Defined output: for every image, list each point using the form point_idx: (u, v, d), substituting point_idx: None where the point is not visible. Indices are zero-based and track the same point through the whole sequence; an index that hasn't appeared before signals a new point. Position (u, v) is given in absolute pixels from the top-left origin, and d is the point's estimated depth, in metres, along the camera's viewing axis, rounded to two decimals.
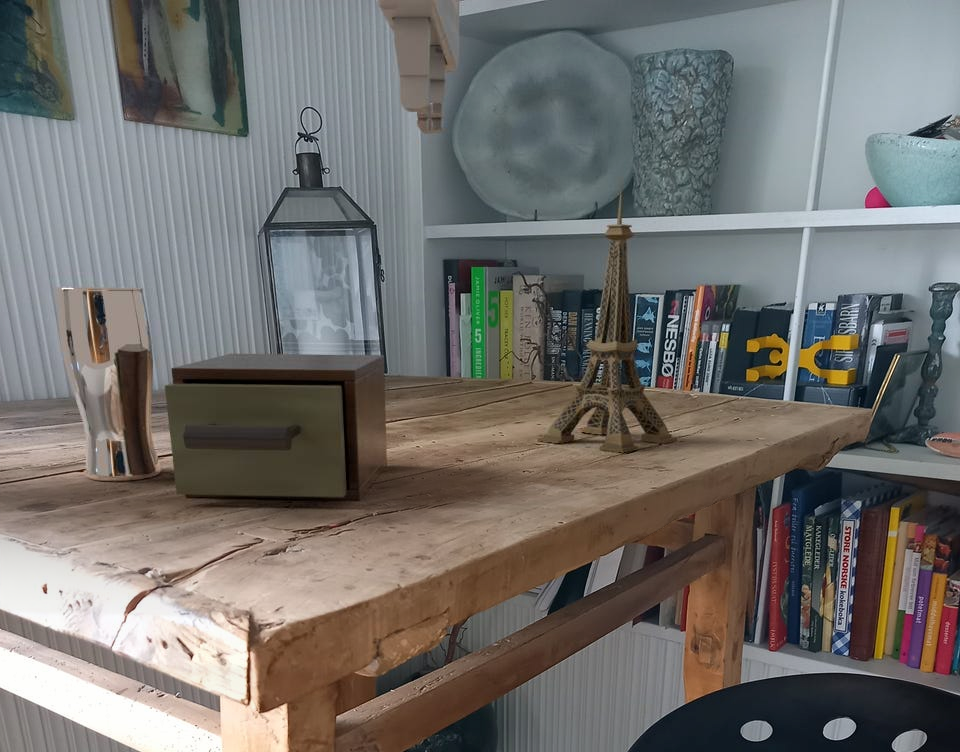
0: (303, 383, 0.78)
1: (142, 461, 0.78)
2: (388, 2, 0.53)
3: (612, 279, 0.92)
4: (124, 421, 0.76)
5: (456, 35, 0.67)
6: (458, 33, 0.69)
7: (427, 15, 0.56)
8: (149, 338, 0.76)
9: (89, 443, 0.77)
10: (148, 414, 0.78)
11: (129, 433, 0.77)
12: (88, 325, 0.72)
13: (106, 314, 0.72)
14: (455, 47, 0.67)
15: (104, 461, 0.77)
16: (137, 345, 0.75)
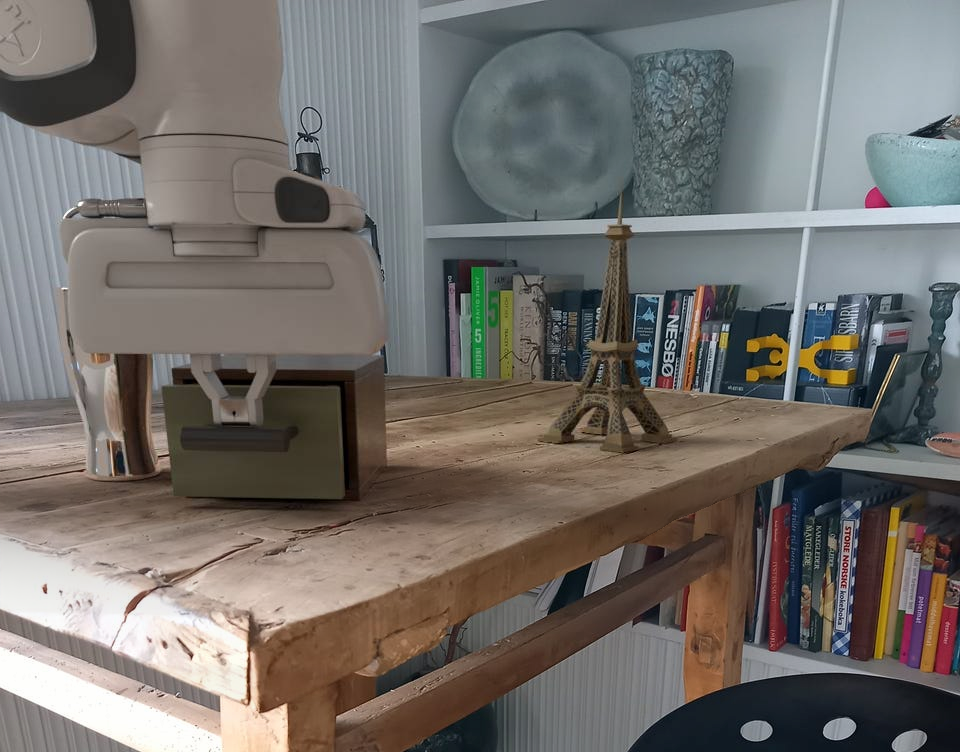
0: (301, 384, 0.77)
1: (142, 461, 0.78)
2: (374, 353, 0.60)
3: (612, 279, 0.92)
4: (124, 421, 0.76)
5: None
6: None
7: None
8: None
9: (89, 443, 0.77)
10: (148, 414, 0.78)
11: (129, 433, 0.77)
12: None
13: None
14: None
15: (104, 461, 0.77)
16: None
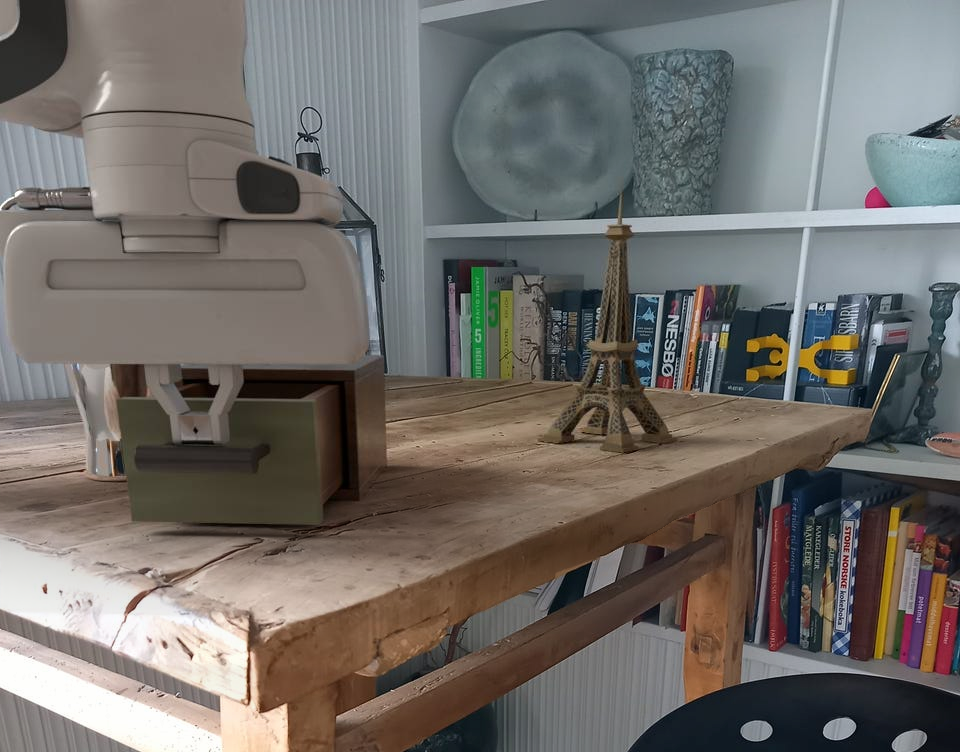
0: (278, 394, 0.70)
1: None
2: (353, 362, 0.53)
3: (612, 279, 0.92)
4: None
5: None
6: None
7: None
8: None
9: (89, 443, 0.77)
10: None
11: None
12: None
13: None
14: None
15: (104, 461, 0.77)
16: None
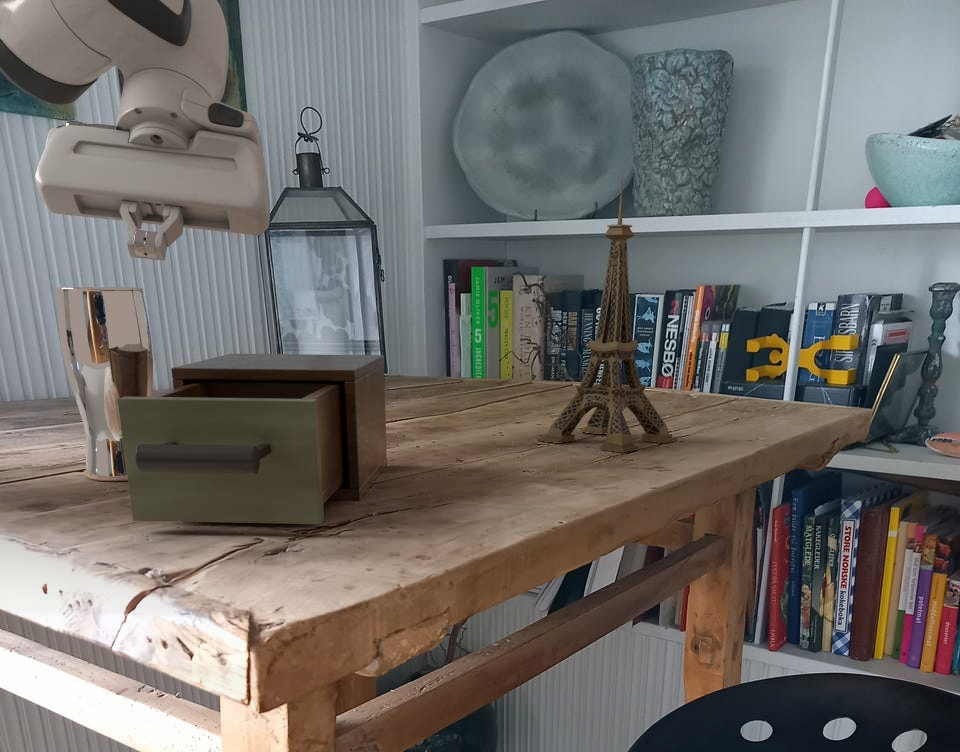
0: (279, 394, 0.70)
1: None
2: (258, 215, 0.84)
3: (612, 279, 0.92)
4: None
5: None
6: None
7: (233, 229, 0.86)
8: (149, 338, 0.76)
9: (89, 443, 0.77)
10: None
11: None
12: (88, 325, 0.72)
13: (106, 314, 0.72)
14: None
15: (104, 461, 0.77)
16: (137, 345, 0.75)
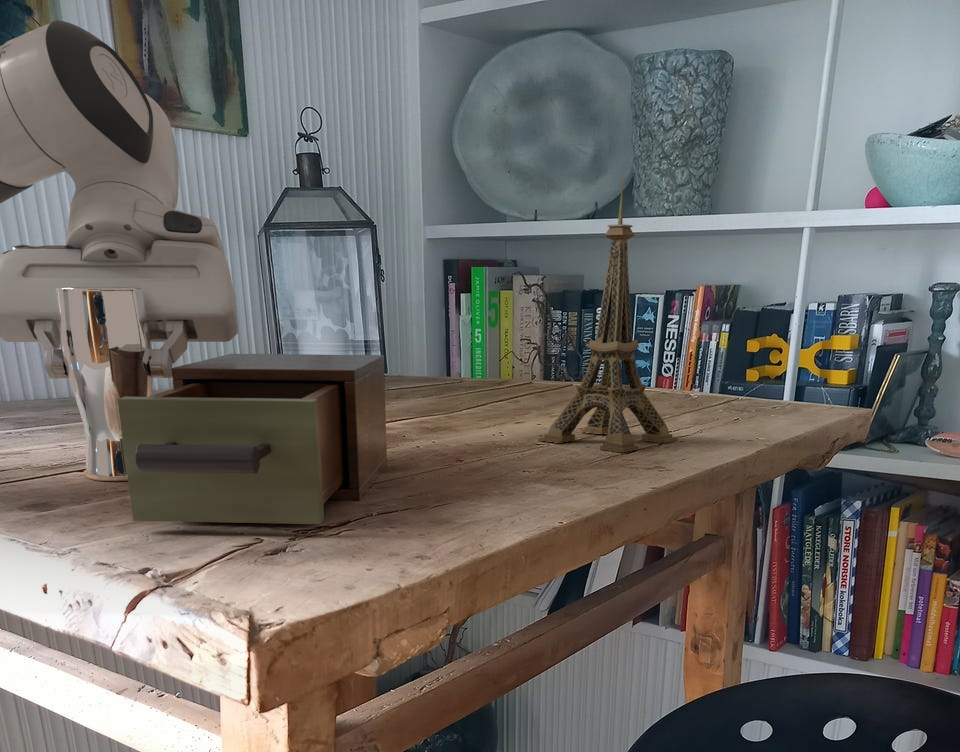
0: (279, 394, 0.70)
1: None
2: (226, 320, 0.79)
3: (613, 279, 0.92)
4: None
5: None
6: None
7: (201, 338, 0.80)
8: (149, 338, 0.76)
9: (89, 443, 0.77)
10: None
11: None
12: (88, 325, 0.72)
13: (106, 314, 0.72)
14: None
15: (104, 461, 0.77)
16: (137, 345, 0.75)
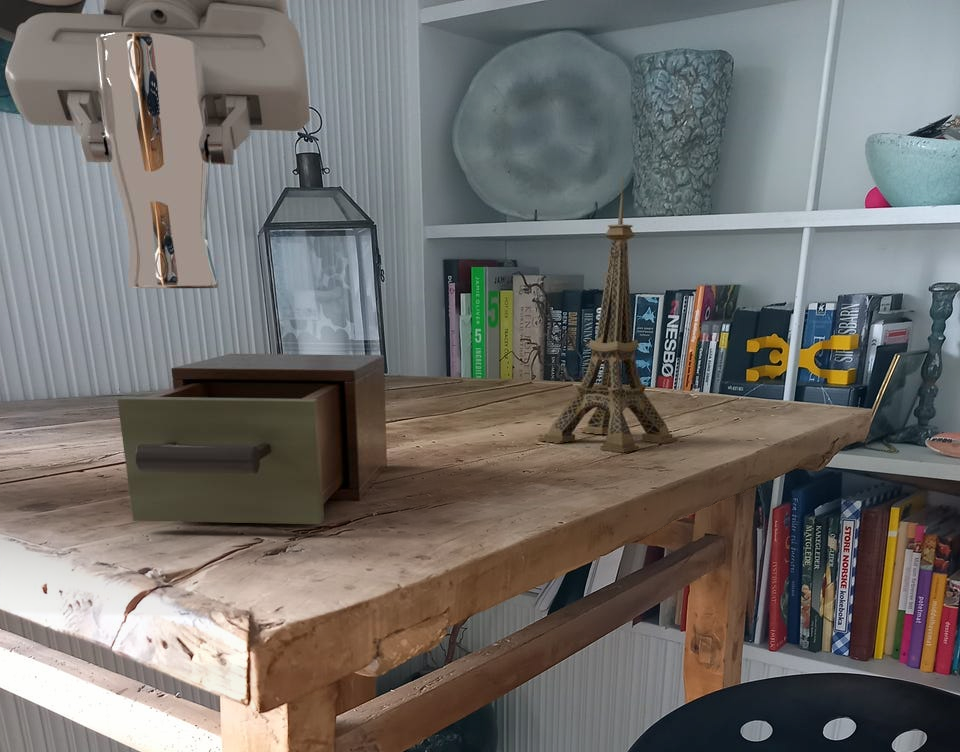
0: (279, 394, 0.70)
1: (198, 266, 0.65)
2: (298, 97, 0.65)
3: (613, 279, 0.92)
4: (176, 212, 0.63)
5: None
6: None
7: (266, 124, 0.67)
8: (207, 111, 0.63)
9: (134, 242, 0.64)
10: (204, 210, 0.65)
11: (183, 228, 0.63)
12: (136, 81, 0.59)
13: (158, 67, 0.59)
14: None
15: (153, 263, 0.63)
16: (194, 114, 0.61)
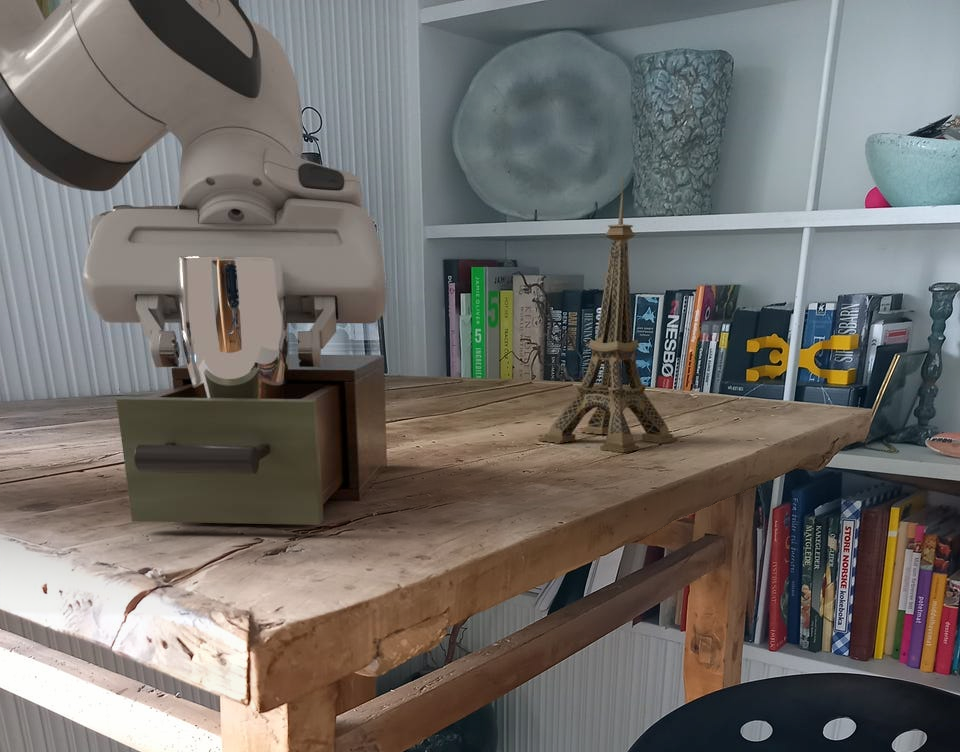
0: None
1: None
2: (377, 296, 0.64)
3: (613, 279, 0.92)
4: None
5: None
6: None
7: (342, 318, 0.66)
8: (287, 321, 0.62)
9: None
10: None
11: None
12: (220, 303, 0.58)
13: (242, 289, 0.58)
14: None
15: None
16: (276, 329, 0.60)
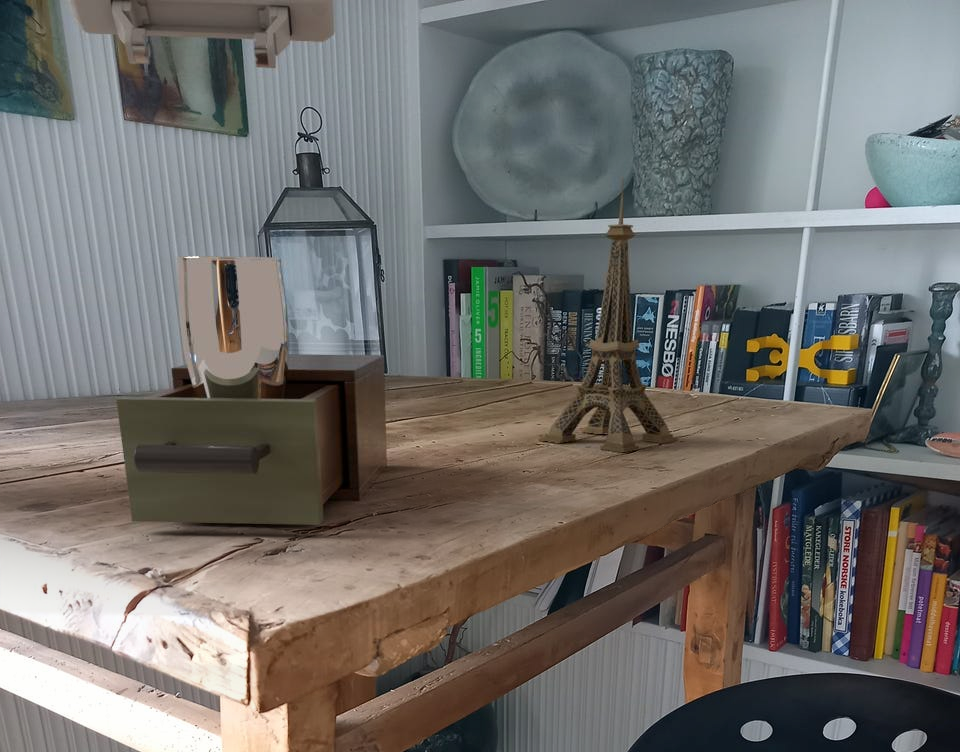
0: None
1: None
2: (325, 9, 0.73)
3: (613, 279, 0.92)
4: None
5: None
6: None
7: (296, 34, 0.74)
8: (287, 321, 0.62)
9: None
10: None
11: None
12: (220, 303, 0.58)
13: (242, 289, 0.58)
14: None
15: None
16: (276, 329, 0.60)
